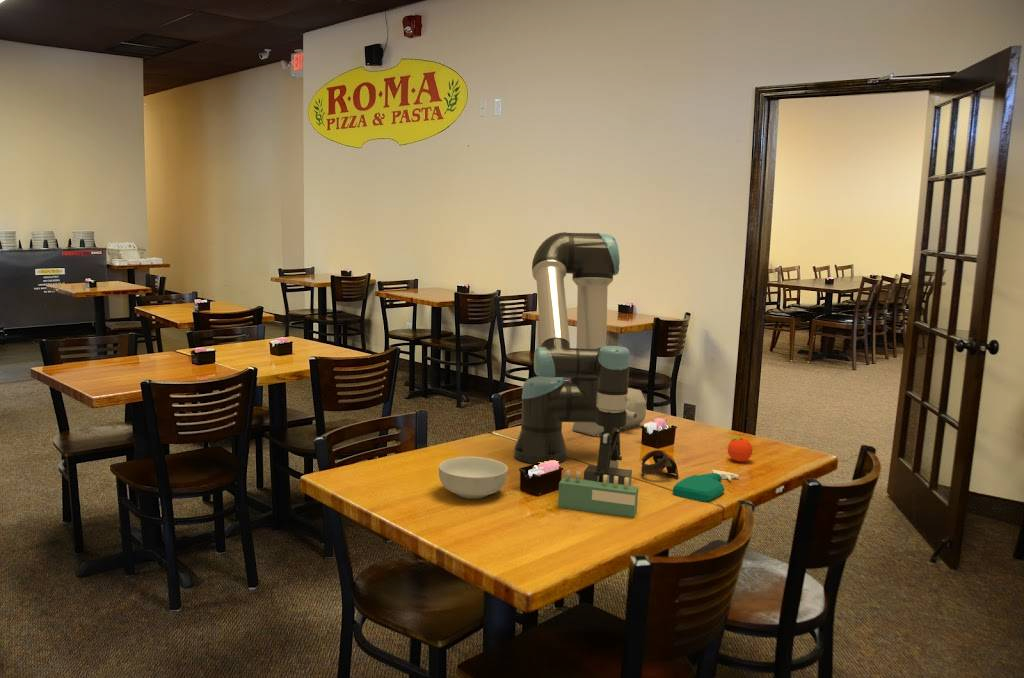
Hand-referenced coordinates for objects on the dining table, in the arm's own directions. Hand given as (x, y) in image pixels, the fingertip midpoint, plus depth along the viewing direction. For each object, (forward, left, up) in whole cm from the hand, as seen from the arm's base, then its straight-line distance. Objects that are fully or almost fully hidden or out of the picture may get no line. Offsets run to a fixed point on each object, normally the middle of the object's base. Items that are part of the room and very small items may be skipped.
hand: (607, 493), depth 200 cm
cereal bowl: (-31, -13, 0) cm, 34 cm away
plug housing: (0, 0, 0) cm, 0 cm away
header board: (0, -12, 0) cm, 12 cm away
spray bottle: (+23, +16, -1) cm, 28 cm away
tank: (-10, +65, 0) cm, 65 cm away
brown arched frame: (+10, +21, 0) cm, 23 cm away
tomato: (+30, +44, 0) cm, 53 cm away
